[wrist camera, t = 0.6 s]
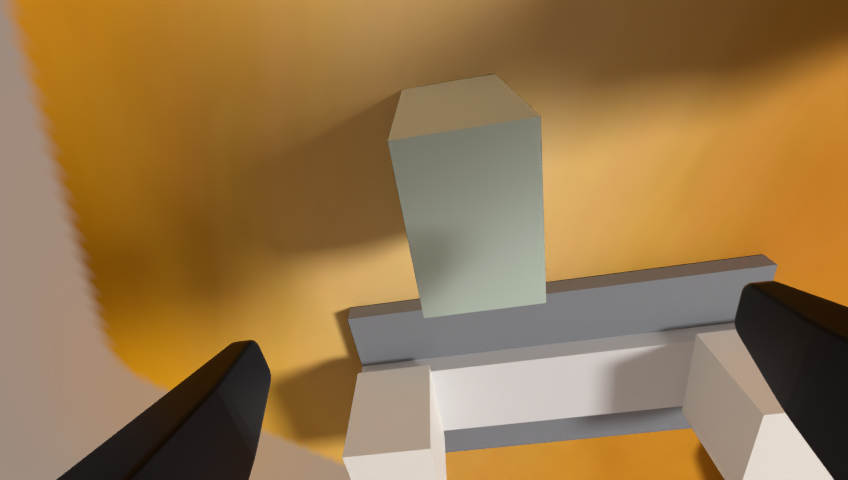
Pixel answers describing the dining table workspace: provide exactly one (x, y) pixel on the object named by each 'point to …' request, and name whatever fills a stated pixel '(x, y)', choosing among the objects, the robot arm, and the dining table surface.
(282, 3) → the dining table surface
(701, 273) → the rail board
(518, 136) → the block
